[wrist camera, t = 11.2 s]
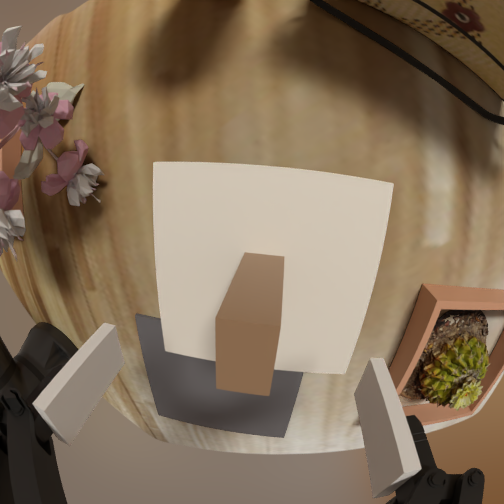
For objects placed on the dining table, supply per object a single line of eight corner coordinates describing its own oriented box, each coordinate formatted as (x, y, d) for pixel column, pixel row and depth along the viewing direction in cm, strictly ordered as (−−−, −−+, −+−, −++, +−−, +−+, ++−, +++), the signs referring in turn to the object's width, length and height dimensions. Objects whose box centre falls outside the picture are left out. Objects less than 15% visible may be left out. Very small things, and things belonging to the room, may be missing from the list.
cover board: (167, 347, 26) (127, 416, 17) (156, 161, 20) (74, 172, 11) (344, 370, 24) (357, 449, 15) (390, 182, 18) (462, 206, 9)
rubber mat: (159, 412, 40) (158, 414, 39) (136, 313, 32) (134, 315, 32) (284, 435, 38) (283, 437, 37) (310, 339, 30) (311, 342, 30)
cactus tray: (365, 412, 34) (369, 432, 30) (422, 283, 26) (437, 300, 23) (464, 399, 32) (472, 414, 28) (522, 291, 24) (537, 302, 20)
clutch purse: (283, 11, 19) (274, -87, 5) (303, -27, 16) (305, -116, 2) (506, 142, 19) (594, 154, 5) (513, 100, 16) (592, 96, 2)
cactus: (433, 294, 27) (472, 341, 18) (500, 312, 26) (534, 348, 17) (374, 393, 33) (386, 445, 24) (445, 395, 32) (463, 436, 23)
